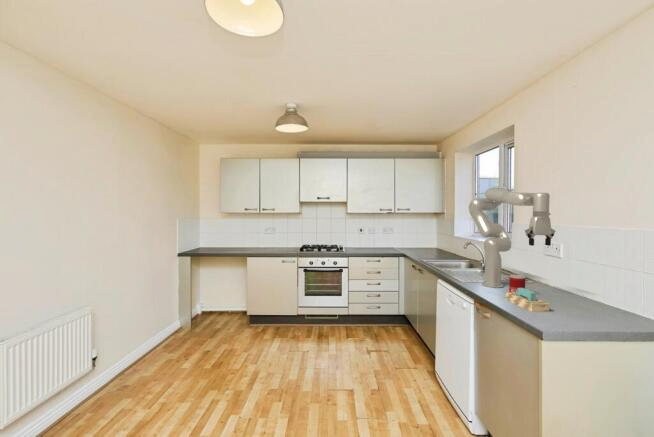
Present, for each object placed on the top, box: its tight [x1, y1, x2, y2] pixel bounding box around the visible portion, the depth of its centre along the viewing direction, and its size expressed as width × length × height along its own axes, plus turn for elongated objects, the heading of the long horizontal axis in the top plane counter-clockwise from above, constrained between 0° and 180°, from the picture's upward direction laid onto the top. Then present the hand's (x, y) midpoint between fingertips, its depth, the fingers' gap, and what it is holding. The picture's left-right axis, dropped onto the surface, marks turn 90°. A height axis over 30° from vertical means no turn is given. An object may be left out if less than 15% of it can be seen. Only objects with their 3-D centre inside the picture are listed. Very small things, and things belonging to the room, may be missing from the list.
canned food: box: [508, 274, 526, 293], centre depth 185 cm, size 8×8×11 cm
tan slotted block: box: [505, 292, 550, 313], centre depth 165 cm, size 20×9×4 cm, turn 4°
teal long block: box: [517, 288, 537, 301], centre depth 165 cm, size 10×3×7 cm, turn 4°
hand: (539, 245), depth 176 cm, fingers open, 9 cm apart
